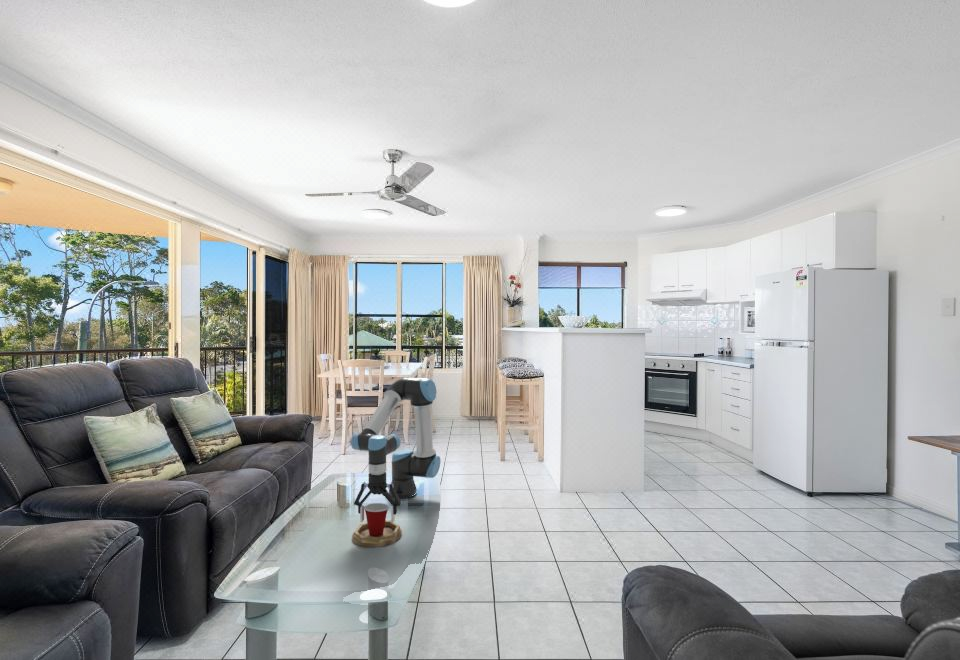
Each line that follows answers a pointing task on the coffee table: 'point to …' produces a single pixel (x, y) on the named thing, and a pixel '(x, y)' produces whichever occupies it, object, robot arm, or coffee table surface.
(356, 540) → the ring base
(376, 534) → the plastic cup
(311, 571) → the coffee table surface
